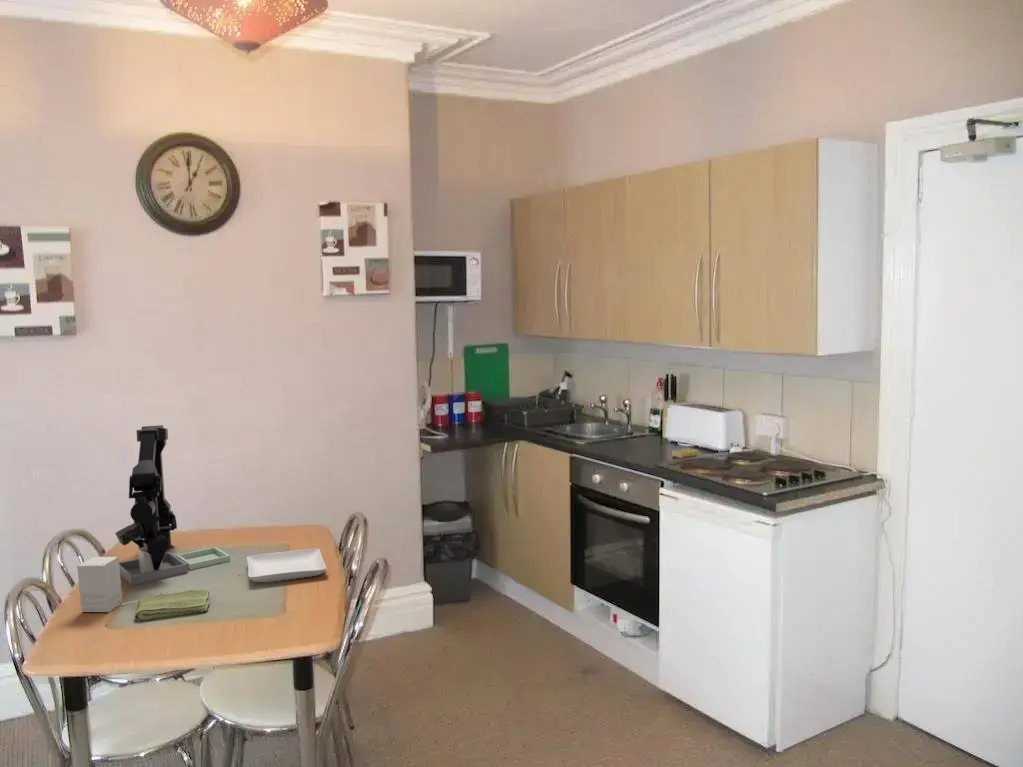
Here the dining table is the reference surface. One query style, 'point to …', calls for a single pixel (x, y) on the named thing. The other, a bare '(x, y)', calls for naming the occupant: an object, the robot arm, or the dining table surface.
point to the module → (146, 561)
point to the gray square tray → (170, 568)
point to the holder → (204, 558)
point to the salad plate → (285, 565)
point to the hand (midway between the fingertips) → (151, 566)
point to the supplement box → (100, 584)
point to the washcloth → (172, 604)
